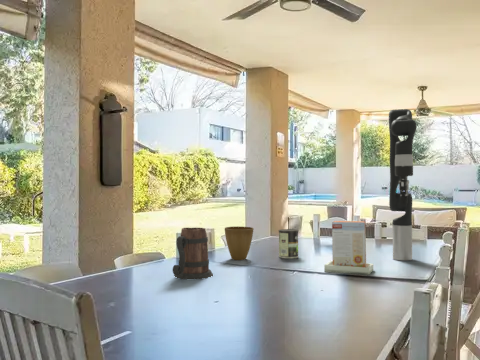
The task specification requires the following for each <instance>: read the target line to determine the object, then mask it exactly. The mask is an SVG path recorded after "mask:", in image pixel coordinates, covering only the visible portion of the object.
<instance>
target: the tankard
mask: <svg viewBox="0 0 480 360" xmlns="http://www.w3.org/2000/svg"><path fill="white" fill-rule="evenodd" d="M208 241H209V237H208V235H207V229H206V228H204V227H182V228H181V231H180V235H179V236H177V238H176V248H177V251H178V258H179V259H178V264H175V265H173V267H172V273H173V277H174V276H175V277H177V278H176V279H178V278H181V279H180V280H187V279H196V280H203V279H202V278H205V279H209V278H208V277H210V278H212V277H214V276H213V274H214V273H213V272H212V270H211V269H210V267H209V264H210V259H209V252H208V249H209V248H208ZM211 276H212V277H211ZM175 277H174V278H175Z"/></svg>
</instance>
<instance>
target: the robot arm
mask: <svg viewBox="0 0 480 360" xmlns="http://www.w3.org/2000/svg"><path fill="white" fill-rule="evenodd" d="M417 126H418V125H417V123H416V121H415V120H414V119H413V113H412V111H411V110H410V109H408V108H404V109H390V110H389V113H388V129H389V130H388V131H389V133H388V134H389V177H390V179H389V181H390V182H389V198H388V199H389V200H388V201H389V202H388V205H389V209H390V211H391V212H405V213H404V214H403V215H401V216H399V217H396V218H393V219H392V259H393V260H395V261H405V262H406V261H413V219H412V218H413V196H412V194H411V193H409V189H410V188H409V185H410V180H409V179H408V177H413V176H414V159H413V141H414V137H415V135H416V131H417ZM406 136H407V138H406V139H404V140H400V137H406ZM398 187H399V188H398ZM397 189H399V192H397Z"/></svg>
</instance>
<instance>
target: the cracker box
mask: <svg viewBox="0 0 480 360" xmlns="http://www.w3.org/2000/svg"><path fill="white" fill-rule="evenodd" d="M331 222H332V223H331V228H332V229H331V231H332V232H331V234H332V235H331V236H332V238H331V239H332V241H331V243H332V246H331V247H332V253H331V254H332V261H333V265H339V266H353V267H366V263H367V243H366V242H367V238H366V237H367V235H366V234H367V233H366V232H367V230H366V220H365V221H364V220H363V221H361V220H358V221H355V220H334V221H331Z"/></svg>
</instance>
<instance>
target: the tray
mask: <svg viewBox="0 0 480 360" xmlns="http://www.w3.org/2000/svg"><path fill="white" fill-rule="evenodd" d="M323 265H324V273H336V274H347V275H348V274H349V275H359V274H360V275H361V276H370V275H371V274H372V273H373V272H374V263H370V262H369V263H367V262H366V267H353V266H339V265H333V260H330V261H328V262H326V263H325V264H323ZM372 271H373V272H372ZM371 272H372V273H371ZM360 275H359V276H360Z"/></svg>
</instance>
